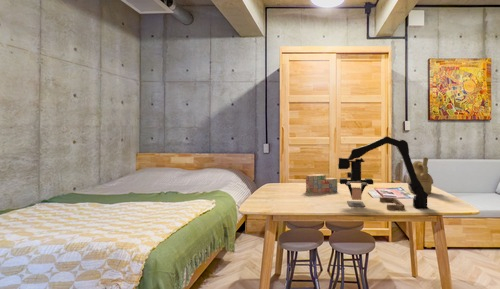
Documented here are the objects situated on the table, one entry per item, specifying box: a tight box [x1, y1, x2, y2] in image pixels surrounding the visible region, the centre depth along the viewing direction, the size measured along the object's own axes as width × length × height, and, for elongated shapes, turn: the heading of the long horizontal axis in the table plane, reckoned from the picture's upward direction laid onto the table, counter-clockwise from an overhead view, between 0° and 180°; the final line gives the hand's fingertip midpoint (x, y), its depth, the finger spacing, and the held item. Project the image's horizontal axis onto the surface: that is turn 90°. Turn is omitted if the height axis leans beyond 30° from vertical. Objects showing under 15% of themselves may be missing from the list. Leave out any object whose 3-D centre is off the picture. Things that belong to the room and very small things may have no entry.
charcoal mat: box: [346, 200, 366, 208], centre depth 204 cm, size 9×12×1 cm
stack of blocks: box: [305, 173, 338, 194], centre depth 244 cm, size 21×6×12 cm, turn 103°
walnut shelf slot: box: [379, 196, 405, 211], centre depth 201 cm, size 9×21×2 cm, turn 170°
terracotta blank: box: [350, 186, 362, 201], centre depth 204 cm, size 8×5×6 cm, turn 170°
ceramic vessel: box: [406, 157, 434, 195], centre depth 237 cm, size 17×20×25 cm
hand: (356, 195), depth 204 cm, fingers closed on terracotta blank, 5 cm apart
